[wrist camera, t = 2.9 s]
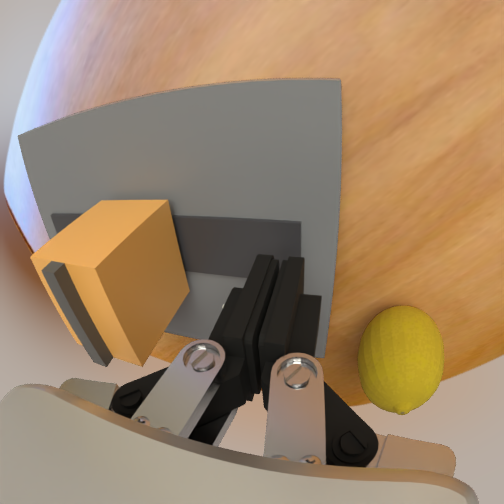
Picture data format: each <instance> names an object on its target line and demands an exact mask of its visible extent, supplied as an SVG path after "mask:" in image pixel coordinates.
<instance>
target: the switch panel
mask: <svg viewBox="0 0 504 504" xmlns="http://www.w3.org/2000/svg"><path fill="white" fill-rule="evenodd" d="M18 139H19V144H20V148H21V152H22V156H23V160H24V163H25V167H26V171H27V174H28V178H29V181H30V184H31V187H32V191H33V194H34V197H35V200H36V203H37V206H38V209H39V212H40V214H41V217H42V220H43V223H44V225H45V228H46V231H47V233H48V236H49V238H50V240H51V239H52V238H53V237H54V236H56V235H57V234H58V233H59V232H60V231H62V230H63V229H64V228H66V227H67V226H68V225H69V224H71V223H72V222H73V221H75V220H76V219H77V218H78V217H80V216H81V215H82V214H84V213H85V212H86V211H88V210H89V209H90V208H92V207H93V206H95V205H96V204H97V203H99V202H100V201H101V200H168V201H169V206H170V211H171V215H172V220H173V224H174V229H175V233H176V237H177V242H178V246H179V250H180V254H181V258H182V262H183V266H184V270H185V274H186V278H187V282H188V286H189V290H190V291H189V293H188V294H187V296H186V297H185V299H184V301H183V302H182V304H181V305H180V307H179V309H178V310H177V312H176V313H175V315H174V317H173V318H172V320H171V321H170V323H169V325H168V326H167V328H166V329H165V331H164V332H167V333H172V334H176V335H181V336H185V337H190V338H195V339H200V340H203V339H207V340H208V339H209V337H210V334H211V332H212V330H213V328H214V326H215V324H216V322H217V320H218V317H219V315H220V313H221V311H222V309H223V307H224V305H225V303H226V300H227V298H228V296H229V294H230V292H231V290H232V289H233V288H234V287H237V288H243V287H244V285H245V282H246V280H247V278H248V275H249V273H250V271H251V268H252V266H253V264H254V261H255V259H256V257H257V255H258V254H264V255H273V256H274V259H277V260H279V270H280V267H281V264H282V261H283V260H288V258H289V256H291V257H304V259H305V267H304V294H309V295H320V296H322V301H321V312H320V321H319V330H318V337H317V344H316V351H315V357H317V358H324V356H325V349H326V343H327V335H328V328H329V320H330V312H331V304H332V295H333V286H334V276H335V266H336V254H337V242H338V228H339V211H340V191H341V158H342V103H341V80H340V79H338V78H276V79H257V80H243V81H232V82H222V83H213V84H206V85H198V86H191V87H185V88H179V89H173V90H167V91H162V92H157V93H152V94H147V95H142V96H138V97H133V98H129V99H125V100H121V101H117V102H113V103H109V104H105V105H102V106H98V107H95V108H91V109H88V110H84V111H81V112H78V113H75V114H72V115H69V116H66V117H63V118H60V119H58V120H55V121H52V122H50V123H47V124H45V125H42V126H40V127H37V128H35V129H32V130H30V131H28V132H25V133H23V134H21V135H18Z"/></svg>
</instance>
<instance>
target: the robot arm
mask: <svg viewBox="0 0 504 504" xmlns="http://www.w3.org/2000/svg"><path fill="white" fill-rule="evenodd" d="M304 267H305V259H304V257H291V256H289V258H288V260H283V261H282V264H281V267H280V270H279V260H277V259H274V256H273V255H264V254H258V255H257V257H256V259H255V261H254V264H253V266H252V268H251V271H250V273H249V275H248V278H247V280H246V282H245V285H244V287H243V288H237V287H234V288H233V289H232V290H231V292H230V294H229V296H228V298H227V300H226V303H225V305H224V307H223V309H222V311H221V313H220V315H219V317H218V320H217V322H216V324H215V326H214V328H213V330H212V332H211V334H210V337H209V339H208V340H207V339H203V340H196V341H193V342H191V343H189V344H187V345H186V346H185V347H184V348H183V349H182V350H181V351H180V353H179V354H178V355H177V357H176V358H175V359H174V361H173V362H172V363H171V365H170V366H169V367H167V368H164V369H162V370H159V371H157V372H154V373H152V374H150V375H147V376H145V377H142V378H140V379H137V380H134V381H132V382H129V383H127V384H125V385H123V386H121V387H119V386H118V385H117V384H114V383H106V382H98V381H91V380H84V379H78V378H71V379H69V380H66V381H65V382H64V383H63V384H62V385H61V386H60V388H56V387H52V386H48V385H42V384H24V385H20V386H17V387H15V388H13V389H12V390H11V391H10V392H9V393H7V395H6V396H5V397H4V398H3V399H2V400H1V402H0V504H479V501H478V498H477V495H476V494H475V492H474V490H473V489H472V488H471V487H470V486H469V485H467V484H466V483H464V482H462V481H460V480H458V479H456V478H453V476H454V471H455V466H456V457H455V455H454V452H453V451H452V450H451V449H450V448H449V447H447V446H444V445H441V444H435V443H429V442H424V441H419V440H413V439H408V438H404V437H399V436H394V435H390V434H388V435H387V436H383V435H379V434H375V433H374V431H373V430H372V429H371V428H370V427H369V426H368V425H367V424H366V423H365V422H364V421H363V420H362V419H361V418H360V417H359V416H358V415H357V414H356V413H355V412H354V411H353V410H352V409H351V408H350V407H349V406H348V405H347V404H346V403H345V402H344V401H343V400H342V399H341V398H340V397H339V396H338V395H337V394H336V393H335V392H334V391H333V390H332V389H331V388H330V387H329V386H328V385H327V384H326V383H325V382H324V379H323V370H322V366H321V364H320V363H319V362H318V360H317V359H315V351H316V344H317V337H318V330H319V321H320V312H321V301H322V296H320V295H309V294H304ZM261 388H262V393H263V402H264V408H265V409H266V410H267V412H268V415H267V426H266V436H265V446H264V447H265V448H264V456H263V457H262V456H257V455H252V454H247V453H242V452H237V451H233V450H229V449H224V448H220V447H218V446H219V444H220V442H221V440H222V439H223V437H224V435H225V433H226V431H227V430H228V428H229V426H230V424H231V422H232V420H233V419H234V417H235V415H236V413H237V409H238V407H240V406H242V405H244V404H245V403H246V400H247V401H252V400H253V396H254V393H255V394H260V391H261Z"/></svg>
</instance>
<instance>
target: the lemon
mask: <svg viewBox="0 0 504 504" xmlns="http://www.w3.org/2000/svg"><path fill="white" fill-rule="evenodd" d="M443 369H444V345H443V340H442V337H441V334H440V332H439V330H438V328H437V326H436V324H435V322H434V321H433V320H432V318H431V317H430V316H428V315H427V314H426V313H425V312H424V311H422V310H420V309H418V308H415V307H412V306H395V307H391V308H389V309H386V310H384V311H382V312H381V313H379V314H378V315H377V316H376V317H375V318H374V319H373V320H372V321H371V322H370V323H369V324H368V326H367V328H366V329H365V331H364V333H363V335H362V338H361V341H360V346H359V351H358V371H359V376H360V381H361V385H362V388H363V390H364V392H365V394H366V396H367V397H368V398H369V400H370V401H371V402H372V403H373V404H375V405H376V406H377V407H379V408H381V409H383V410H386V411H388V412H393V413H397V414H399V415H405V414H407V413H409V412H410V411H411V410H414V409H416V408H418V407H419V406H421V405H423V404H424V403H425V402H426V401H428V400H429V399H430V397H431V396H432V395H433V394H434V392H435V391H436V390H437V388H438V386H439V383H440V381H441V378H442V374H443Z"/></svg>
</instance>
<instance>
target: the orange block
mask: <svg viewBox="0 0 504 504" xmlns="http://www.w3.org/2000/svg"><path fill="white" fill-rule="evenodd" d="M31 259H32V262H33V264H34V266H35V268H36V270H37V272H38V274H39V276H40V278H41V280H42V282H43V284H44V286H45V288H46V290H47V292H48V294H49V296H50V298H51V300H52V301H53V303H54V305H55V307H56V309H57V310H58V312H59V314H60V316H61V317H62V319H63V321H64V322H65V324H66V326H67V327H68V329H69V331H70V332H71V334H72V336H73V337H74V339H75V340H76V342H77V344H80V345H82V346H84V348H85V350H86V351H87V352H88V354H89V356H90V357H91V359H92V360H93V362H95V363H98V364H100V365H102V366H105V367H107V366H108V364H109V363H110V361H111V360H112V359H113V357H114V358H118V359H120V360H123V361H126V362H129V363H132V364H135V365H138V366H142V367H143V365H144V364H145V362H146V360H147V359H148V357H149V355H150V354H151V352H152V350H153V349H154V347H155V346H156V344H157V342H158V341H159V339H160V337H161V336H162V334H163V333H164V331H165V329H166V328H167V326H168V325H169V323H170V321H171V320H172V318H173V317H174V315H175V313H176V312H177V310H178V309H179V307H180V305H181V304H182V302H183V301H184V299H185V297H186V296H187V294H188V293H189V291H190V290H189V286H188V282H187V278H186V274H185V270H184V266H183V262H182V258H181V254H180V250H179V246H178V242H177V237H176V233H175V229H174V224H173V220H172V215H171V211H170V206H169V201H168V200H101V201H100V202H99V203H97V204H96V205H95V206H93V207H92V208H90V209H89V210H88V211H86V212H85V213H84V214H82V215H81V216H80V217H78V218H77V219H76V220H75V221H73V222H72V223H71V224H69V225H68V226H67V227H66V228H64V229H63V230H62V231H60V232H59V233H58V234H57V235H56V236H54V237H53V238H52V239H51V240H49V241H48V242H47V243H46V244H45V245H43V246H42V247H41V248H40V249H39V250H38V251H36V252H35V253H34V254H33V255H32V256H31Z"/></svg>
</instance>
